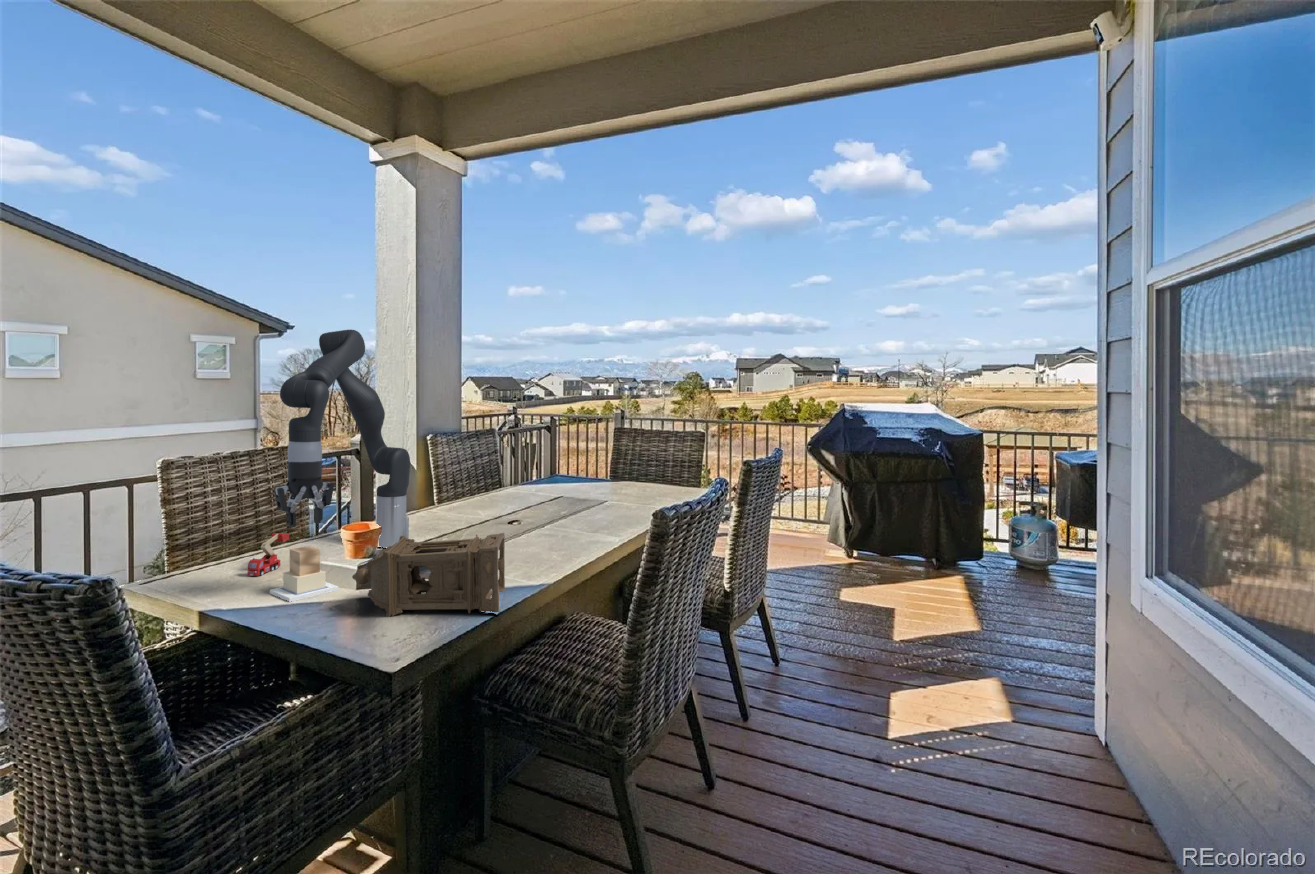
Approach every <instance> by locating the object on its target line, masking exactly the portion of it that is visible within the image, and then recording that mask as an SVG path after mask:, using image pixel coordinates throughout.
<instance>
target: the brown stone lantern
mask: <svg viewBox="0 0 1315 874" xmlns="http://www.w3.org/2000/svg"><path fill="white" fill-rule="evenodd" d="M505 539H506V538H505V532H500V533H495V534H488V535H487V536H486V537H485V538H483V539H482V538H480V537H479V535H478V534H475V537H474V538H464V539H451V540H450V539H449V540H439V541H438V540H436V541H435V540H434V541H433V540H432V541H419V542H418V541H417V542H415V539H414V538H412V539H411V538H409V539H408V538H405V536H400V539H399V542H398V543H395V545H393V546H389V547H387V548H386V549H383V548H382V549H381V551H379V553H378V554H377V556H375V558H373V559H371V560H368V561H367V562H366V567H365V568H364V567H362V568H360V569H358V570H357V571H356V572H355V573H354V574H353V575H352V579H353V580H354V581H355V582H356V584H359V585H365V584H367V583H369V584H370V586H371V587H370V588H371V589H370V590H369V589H368V592H367V596H368V598H370V600H371V601H372V602H373V603H374V604H373V605H374V606H377V607H379V609H382V610H385V612H386V614H385V616H386V618H387V617H389V618H391V616H392V617H394V616H396V615H399V614H402V613H404V611H407V610H409V611H410V610H417V611H418V610H467V612H468V614H471V612H472V611H474V610H476V609H477V610H479V612H480V611H484V612H486V611H490V612H491V611H492V612H499V613H500V611H499V592H503V591H505V592H506V590H505V589H506V588H505V586H506V585H505V584H506V581H505V578H506V577H505V576H506V575H505V549H506V547H505V545H506V543H505ZM424 566H425V568H427V569H428V570H429V572H430V573H429V576H428V579H427V580H426V577H421V575H420V573H421V567H424ZM491 595H492V598H490V596H491ZM471 610H472V611H471Z"/></svg>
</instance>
